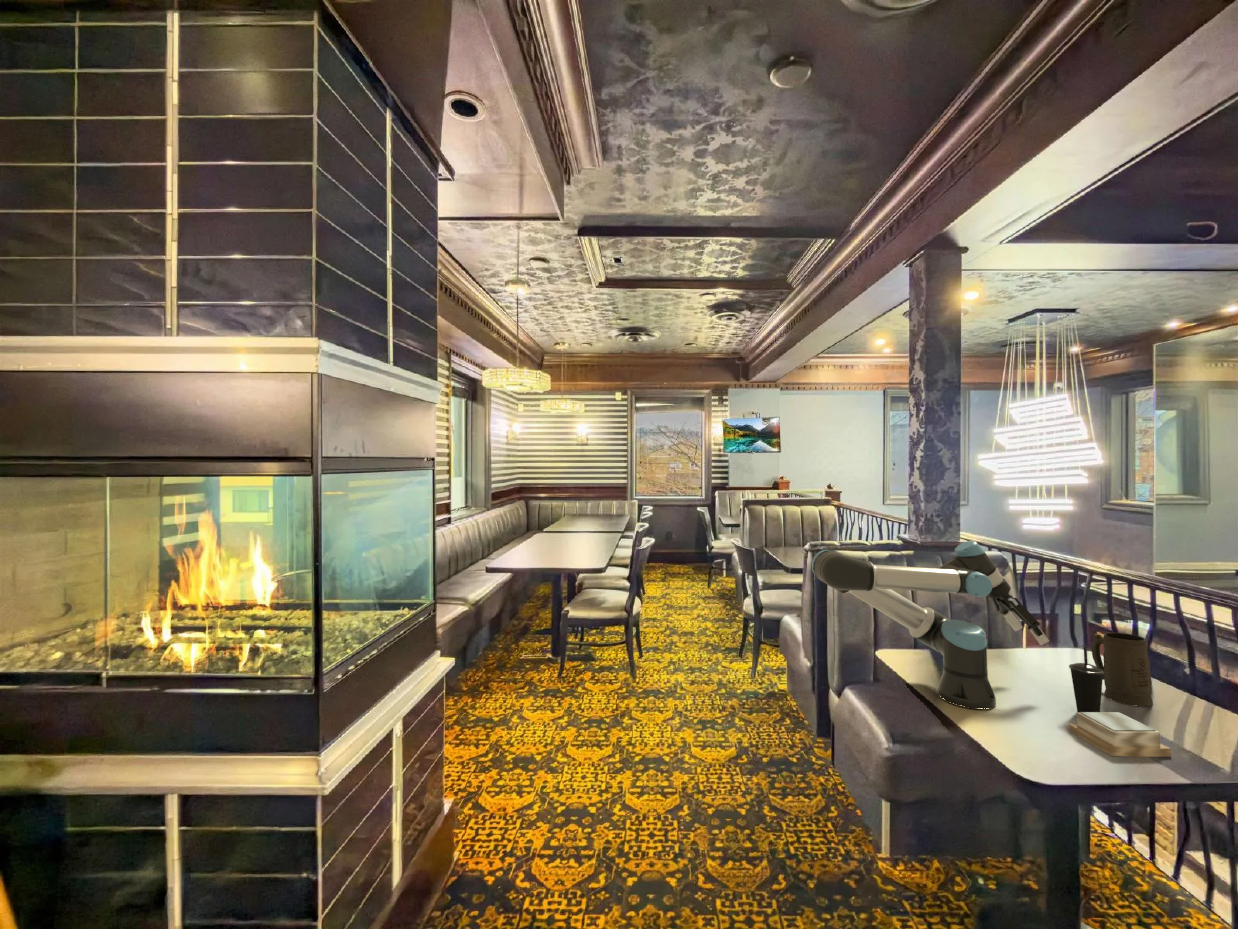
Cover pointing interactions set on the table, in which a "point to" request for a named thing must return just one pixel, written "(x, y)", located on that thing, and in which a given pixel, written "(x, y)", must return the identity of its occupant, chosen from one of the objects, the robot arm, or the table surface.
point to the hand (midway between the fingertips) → (1031, 635)
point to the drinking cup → (1087, 685)
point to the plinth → (1120, 749)
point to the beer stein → (1124, 667)
